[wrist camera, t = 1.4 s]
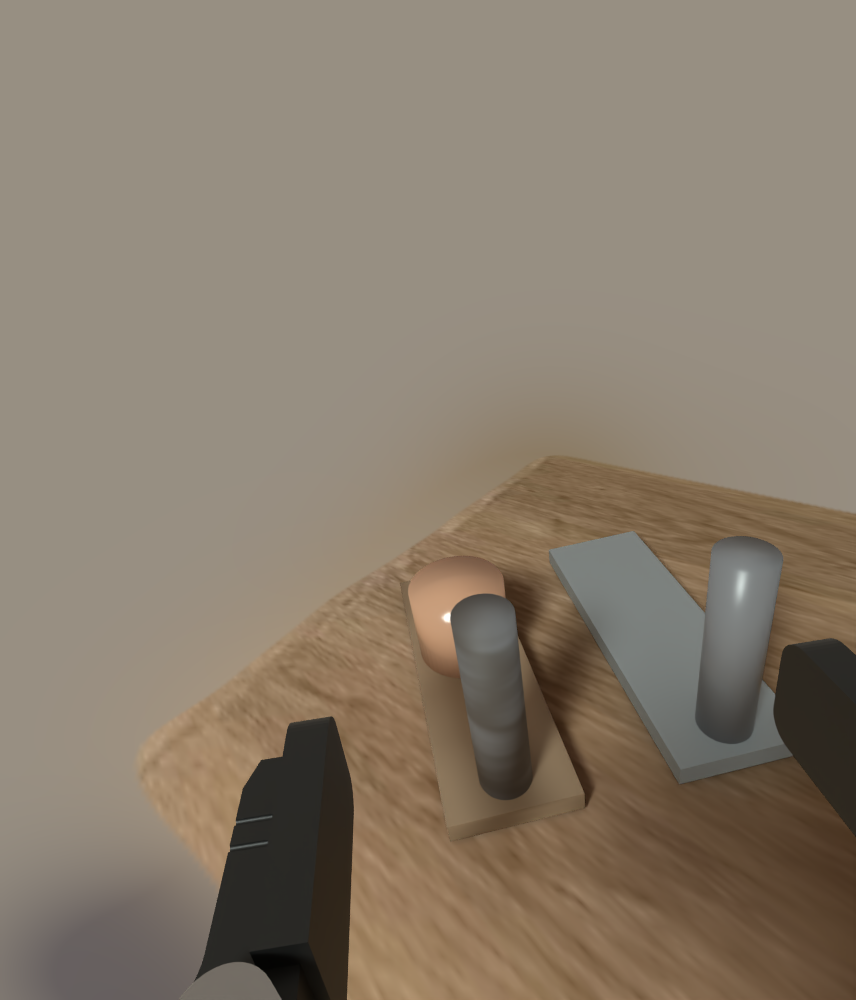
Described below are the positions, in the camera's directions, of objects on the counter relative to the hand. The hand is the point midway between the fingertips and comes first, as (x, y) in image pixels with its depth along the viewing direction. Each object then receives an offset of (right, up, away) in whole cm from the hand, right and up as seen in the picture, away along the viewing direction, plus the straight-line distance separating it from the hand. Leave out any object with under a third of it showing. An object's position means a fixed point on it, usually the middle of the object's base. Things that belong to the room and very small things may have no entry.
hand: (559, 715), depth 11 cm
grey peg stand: (+12, -5, +29) cm, 32 cm away
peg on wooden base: (+1, -8, +28) cm, 29 cm away
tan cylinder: (0, -6, +29) cm, 30 cm away
